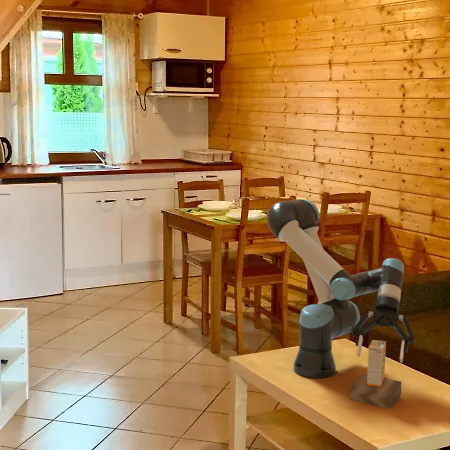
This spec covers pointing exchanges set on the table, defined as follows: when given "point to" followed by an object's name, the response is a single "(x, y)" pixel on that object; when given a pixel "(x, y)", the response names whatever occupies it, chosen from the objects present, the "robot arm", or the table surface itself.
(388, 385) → the walnut block
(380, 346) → the supplement box
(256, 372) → the table surface
